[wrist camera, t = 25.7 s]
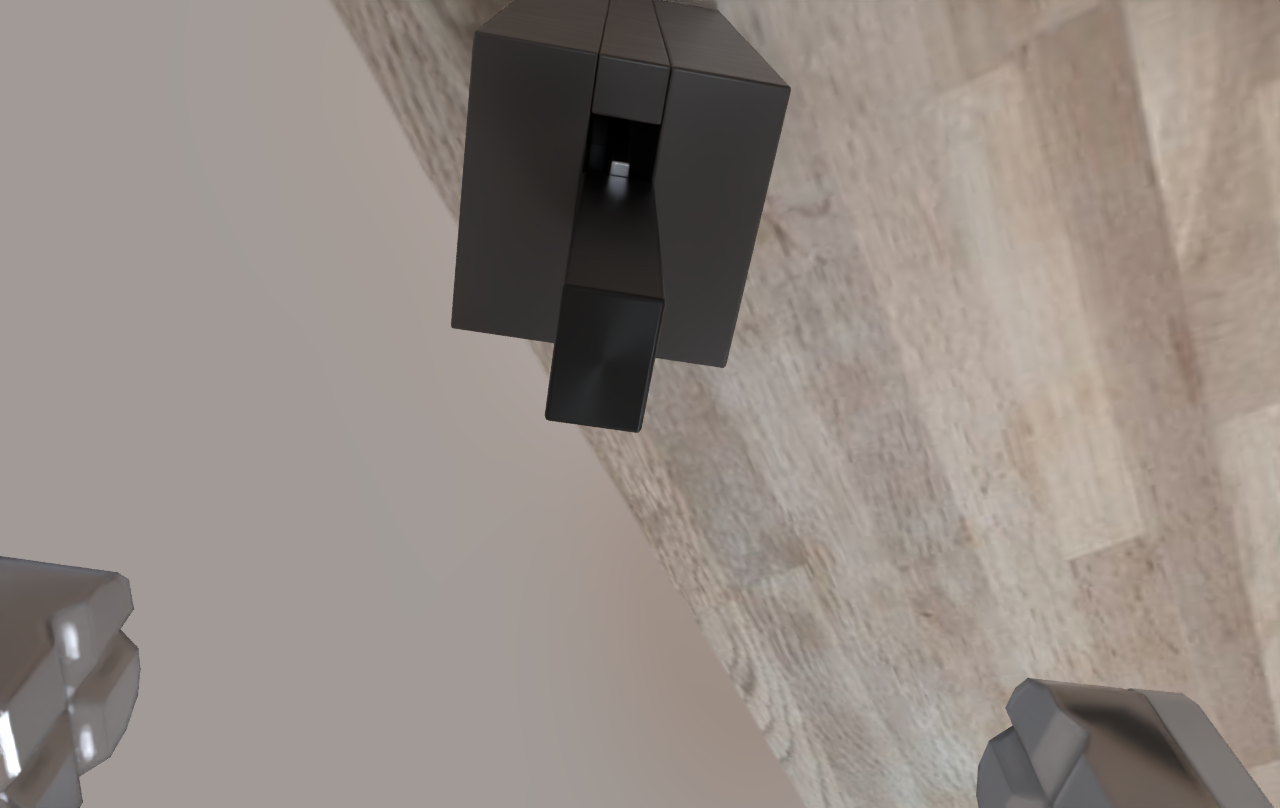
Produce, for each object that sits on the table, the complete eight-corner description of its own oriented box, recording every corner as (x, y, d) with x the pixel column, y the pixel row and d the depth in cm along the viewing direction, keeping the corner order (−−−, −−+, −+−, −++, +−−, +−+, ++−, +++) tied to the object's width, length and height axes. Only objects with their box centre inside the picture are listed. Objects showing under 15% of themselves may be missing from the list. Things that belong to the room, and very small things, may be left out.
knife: (592, 126, 37) (541, 437, 15) (603, 48, 36) (564, 265, 14) (631, 133, 37) (638, 450, 15) (644, 55, 36) (669, 281, 14)
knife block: (523, 158, 39) (450, 328, 23) (542, -22, 35) (473, 30, 20) (685, 185, 39) (725, 369, 23) (719, 10, 36) (792, 87, 20)
